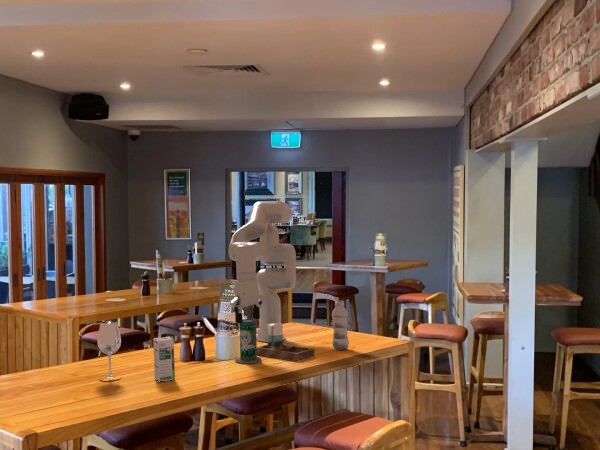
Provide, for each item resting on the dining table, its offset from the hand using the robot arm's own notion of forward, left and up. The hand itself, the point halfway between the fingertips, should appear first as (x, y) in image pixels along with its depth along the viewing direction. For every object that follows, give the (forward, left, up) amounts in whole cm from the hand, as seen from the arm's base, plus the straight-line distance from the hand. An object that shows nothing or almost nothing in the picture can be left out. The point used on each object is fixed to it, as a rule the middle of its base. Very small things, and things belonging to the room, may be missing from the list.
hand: (247, 320), depth 260 cm
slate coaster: (0, -1, -15) cm, 15 cm away
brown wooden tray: (+6, +14, -15) cm, 22 cm away
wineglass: (-22, -48, -16) cm, 55 cm away
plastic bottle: (+18, +35, -16) cm, 43 cm away
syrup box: (-5, -38, -16) cm, 41 cm away
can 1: (0, 0, -15) cm, 15 cm away
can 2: (+1, +14, -15) cm, 21 cm away
